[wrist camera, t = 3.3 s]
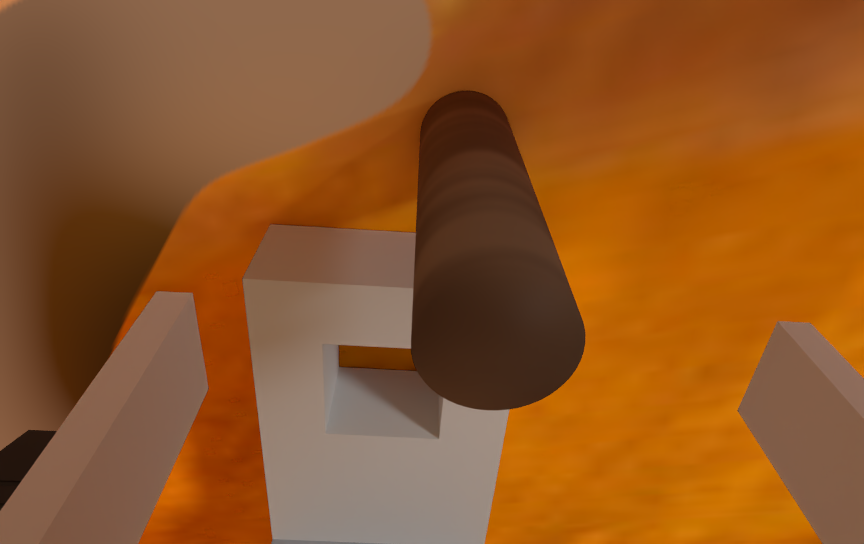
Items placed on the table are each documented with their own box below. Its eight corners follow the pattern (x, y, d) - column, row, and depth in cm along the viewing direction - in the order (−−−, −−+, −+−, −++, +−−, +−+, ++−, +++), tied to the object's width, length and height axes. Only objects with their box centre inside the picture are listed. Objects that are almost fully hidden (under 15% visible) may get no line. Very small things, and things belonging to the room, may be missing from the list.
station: (270, 224, 29) (140, 476, 16) (515, 238, 29) (582, 495, 16) (291, 480, 38) (221, 766, 25) (475, 488, 39) (497, 773, 26)
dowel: (423, 87, 25) (415, 267, 12) (515, 93, 25) (602, 278, 13) (417, 175, 27) (406, 406, 15) (503, 180, 28) (567, 414, 15)
